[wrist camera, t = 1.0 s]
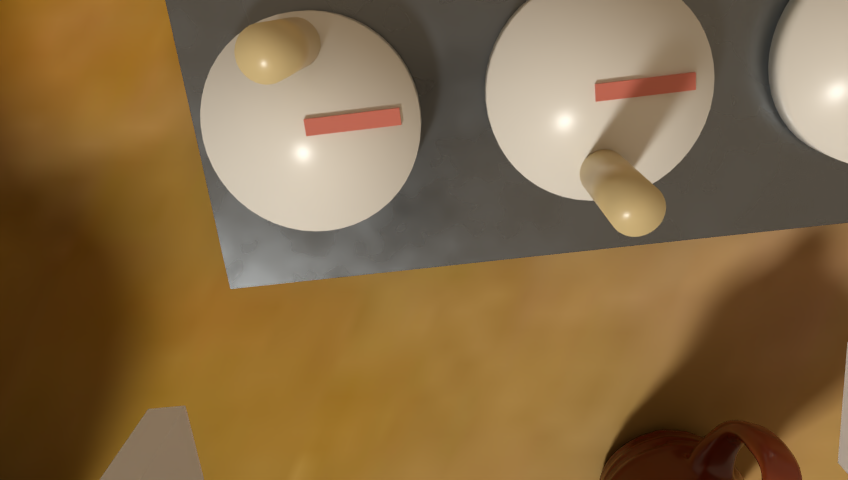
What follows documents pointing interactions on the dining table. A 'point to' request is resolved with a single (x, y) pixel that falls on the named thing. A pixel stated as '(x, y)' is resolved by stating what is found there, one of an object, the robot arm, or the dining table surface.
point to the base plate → (489, 167)
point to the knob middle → (601, 99)
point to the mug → (702, 455)
